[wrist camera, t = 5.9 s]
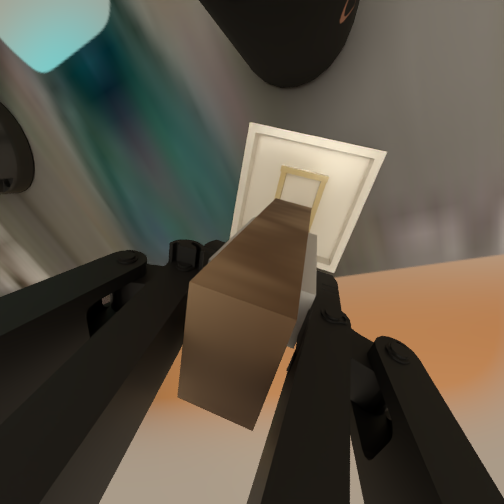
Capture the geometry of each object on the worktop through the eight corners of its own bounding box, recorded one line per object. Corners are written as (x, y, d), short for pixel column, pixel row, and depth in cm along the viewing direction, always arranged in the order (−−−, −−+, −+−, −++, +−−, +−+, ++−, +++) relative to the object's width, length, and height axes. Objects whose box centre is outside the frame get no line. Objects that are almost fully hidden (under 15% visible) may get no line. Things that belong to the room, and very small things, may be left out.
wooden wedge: (261, 254, 18) (177, 397, 7) (275, 198, 16) (189, 281, 5) (292, 264, 17) (252, 431, 7) (311, 207, 15) (297, 320, 5)
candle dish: (235, 234, 32) (228, 241, 29) (255, 124, 26) (249, 121, 23) (332, 264, 30) (334, 273, 27) (380, 152, 24) (387, 151, 21)
